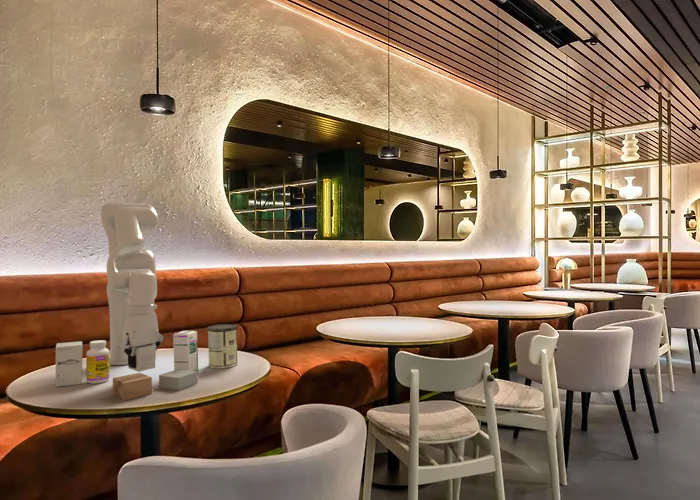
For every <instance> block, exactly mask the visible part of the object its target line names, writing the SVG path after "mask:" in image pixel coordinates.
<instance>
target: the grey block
mask: <svg viewBox="0 0 700 500" xmlns="http://www.w3.org/2000/svg"><path fill="white" fill-rule="evenodd" d="M198 374H199V371H198V372H197V371H189V370H182V369H177V370H174V369H173V370H170V371H167V372H165V373H162V374H159V375H158V388H160V389H161V388H162V389H168V390H175V391H181V390H183V389H186V388H189V387H192V386H194V385H197V384H198V383H199V381H198V380H199V379H198Z"/></svg>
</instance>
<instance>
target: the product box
mask: <svg viewBox="0 0 700 500" xmlns="http://www.w3.org/2000/svg"><path fill="white" fill-rule="evenodd" d="M155 352H156V346H153V345H150V344H148V345H143V346H138V347H137V348H136V351H135V354H134V355H135V356H136V368H131V367H129V365H128V364H127V367H128V369H129V370H133V371H136V372H137V373H142V372H144V371H148V370H151V369H155V368H156V359H155Z"/></svg>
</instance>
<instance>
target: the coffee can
mask: <svg viewBox="0 0 700 500" xmlns="http://www.w3.org/2000/svg"><path fill="white" fill-rule="evenodd" d="M237 331H238V325H236V324H231V323H230V324H229V323H223V324H221V323H220V324H213V325H210V326H208V327H207V335H208V336H207V337H208V338H207V339H208V341H207V343H208V345H207V346H208V347H207V348H208V367H209V368H210V369H211V368H212V369H229V368H233V367H236V366H237V365H238V337H237V336H238V333H237Z"/></svg>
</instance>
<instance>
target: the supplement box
mask: <svg viewBox="0 0 700 500" xmlns="http://www.w3.org/2000/svg"><path fill="white" fill-rule="evenodd" d="M82 384H83V341H70V342H57V343H56V345H55V388H59V387H66V386H74V385H75V386H76V385H82Z"/></svg>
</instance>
